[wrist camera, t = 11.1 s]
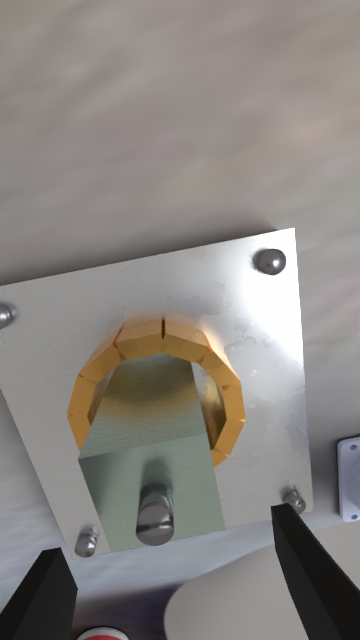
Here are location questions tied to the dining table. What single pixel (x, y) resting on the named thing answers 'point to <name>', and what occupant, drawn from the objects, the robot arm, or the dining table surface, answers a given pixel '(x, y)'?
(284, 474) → the bolted plate with ring
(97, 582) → the dining table surface
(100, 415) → the mint green square pillar
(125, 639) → the pill bottle
